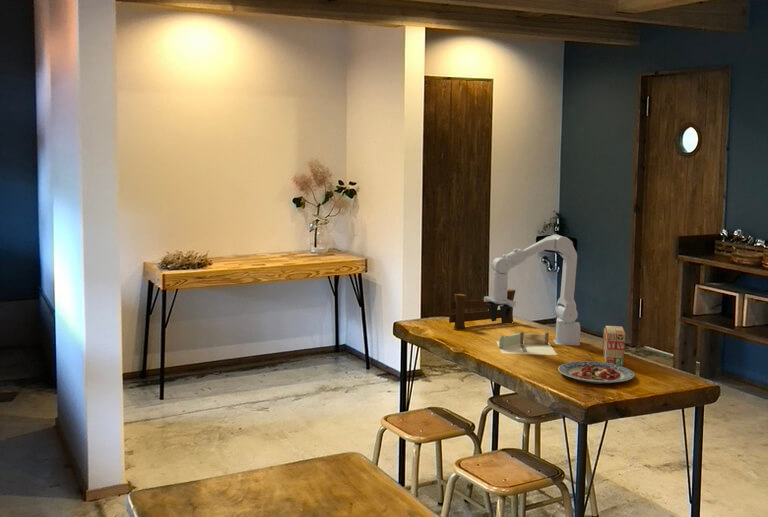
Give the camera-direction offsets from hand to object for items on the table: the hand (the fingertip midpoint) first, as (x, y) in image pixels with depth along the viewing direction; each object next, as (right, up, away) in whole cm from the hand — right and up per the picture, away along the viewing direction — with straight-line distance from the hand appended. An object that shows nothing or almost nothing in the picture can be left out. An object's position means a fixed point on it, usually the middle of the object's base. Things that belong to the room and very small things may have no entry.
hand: (498, 322), depth 340 cm
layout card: (+10, -10, -3) cm, 15 cm away
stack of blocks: (+41, -13, -15) cm, 45 cm away
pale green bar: (+4, -9, -2) cm, 10 cm away
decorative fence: (-2, -5, +37) cm, 37 cm away
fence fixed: (+14, -9, +3) cm, 17 cm away
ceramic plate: (+28, -16, -41) cm, 52 cm away
